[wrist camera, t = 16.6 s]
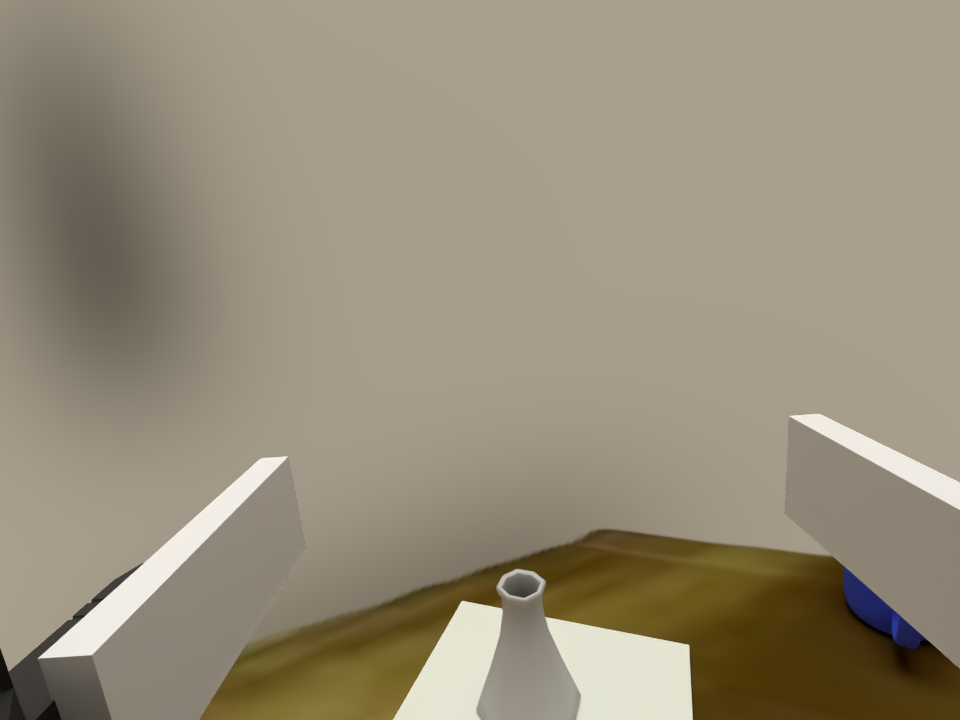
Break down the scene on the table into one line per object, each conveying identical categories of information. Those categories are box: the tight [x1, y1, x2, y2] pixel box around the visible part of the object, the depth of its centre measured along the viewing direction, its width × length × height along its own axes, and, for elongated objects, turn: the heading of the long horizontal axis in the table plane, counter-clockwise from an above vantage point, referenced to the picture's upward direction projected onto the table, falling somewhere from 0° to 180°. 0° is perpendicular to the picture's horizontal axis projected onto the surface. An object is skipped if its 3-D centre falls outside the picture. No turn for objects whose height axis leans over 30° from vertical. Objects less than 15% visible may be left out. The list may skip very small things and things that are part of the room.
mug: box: [843, 566, 927, 649], centre depth 40 cm, size 8×12×10 cm
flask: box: [476, 569, 581, 720], centre depth 35 cm, size 7×7×10 cm
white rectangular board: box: [393, 601, 693, 720], centre depth 36 cm, size 20×16×1 cm
